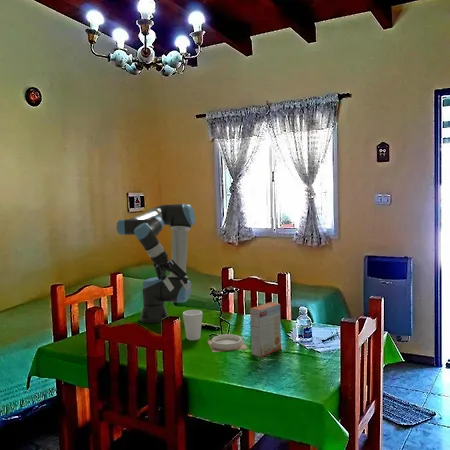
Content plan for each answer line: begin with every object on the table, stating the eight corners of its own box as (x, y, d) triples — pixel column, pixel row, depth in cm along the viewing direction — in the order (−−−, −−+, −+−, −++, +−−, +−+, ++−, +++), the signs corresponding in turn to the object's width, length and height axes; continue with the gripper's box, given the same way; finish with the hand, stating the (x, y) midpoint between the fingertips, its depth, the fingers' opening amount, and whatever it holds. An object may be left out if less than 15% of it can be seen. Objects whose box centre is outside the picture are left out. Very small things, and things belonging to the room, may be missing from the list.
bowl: (210, 340, 219) (210, 335, 219) (238, 338, 222) (238, 333, 222) (215, 350, 206) (214, 345, 206) (244, 348, 209) (244, 342, 208)
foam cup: (200, 342, 219) (199, 315, 218) (181, 341, 220) (180, 314, 219) (205, 336, 228) (204, 310, 227) (186, 335, 230) (186, 309, 229)
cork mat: (207, 341, 220) (207, 340, 220) (240, 338, 223) (240, 337, 223) (212, 353, 205) (212, 352, 205) (248, 349, 208) (248, 348, 208)
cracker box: (271, 346, 211) (270, 301, 209) (281, 349, 207) (281, 303, 205) (250, 354, 201) (249, 307, 200) (261, 358, 197) (260, 310, 195)
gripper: (137, 260, 224) (160, 294, 230) (167, 256, 206) (191, 293, 212) (148, 251, 229) (170, 285, 235) (178, 246, 210) (201, 283, 217)
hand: (180, 289), depth 224 cm, fingers open, 13 cm apart
